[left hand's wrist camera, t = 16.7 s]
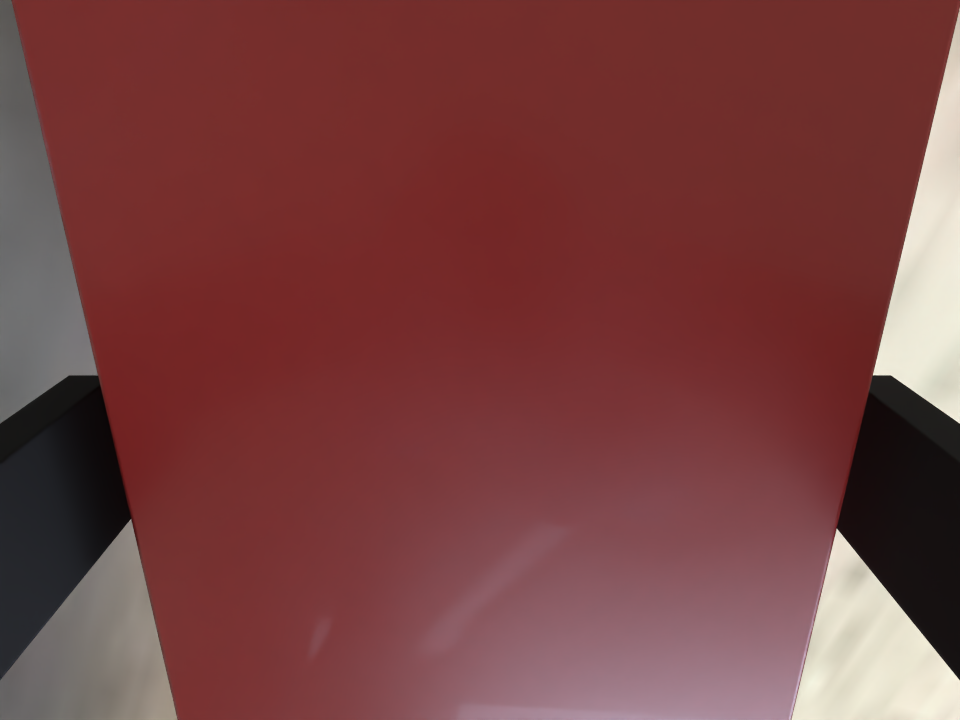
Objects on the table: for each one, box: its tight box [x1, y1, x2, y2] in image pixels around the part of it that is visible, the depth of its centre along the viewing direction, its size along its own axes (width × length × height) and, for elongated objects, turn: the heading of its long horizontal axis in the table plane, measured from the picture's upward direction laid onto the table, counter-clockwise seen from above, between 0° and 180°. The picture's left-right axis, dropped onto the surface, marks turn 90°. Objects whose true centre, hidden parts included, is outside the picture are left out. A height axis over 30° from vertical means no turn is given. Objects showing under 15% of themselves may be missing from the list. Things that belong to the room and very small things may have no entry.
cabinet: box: [12, 0, 960, 720], centre depth 13 cm, size 18×11×10 cm, turn 0°
